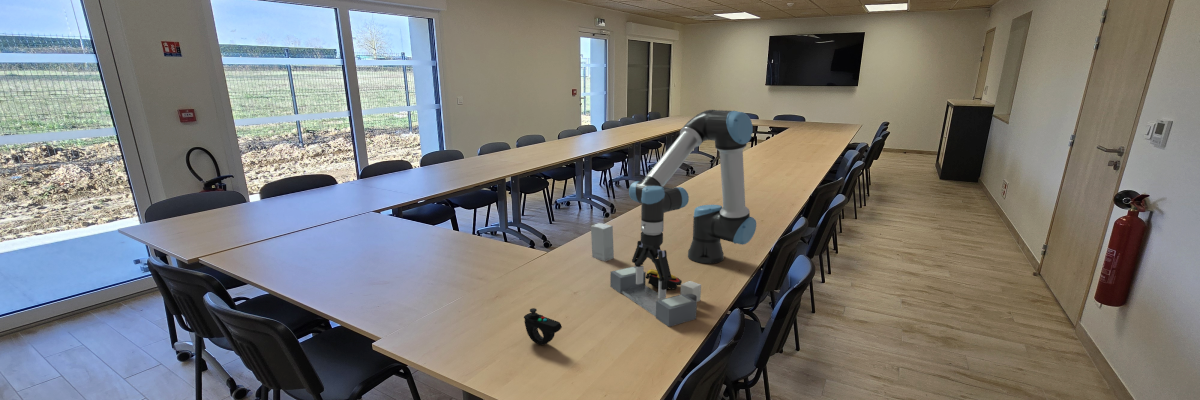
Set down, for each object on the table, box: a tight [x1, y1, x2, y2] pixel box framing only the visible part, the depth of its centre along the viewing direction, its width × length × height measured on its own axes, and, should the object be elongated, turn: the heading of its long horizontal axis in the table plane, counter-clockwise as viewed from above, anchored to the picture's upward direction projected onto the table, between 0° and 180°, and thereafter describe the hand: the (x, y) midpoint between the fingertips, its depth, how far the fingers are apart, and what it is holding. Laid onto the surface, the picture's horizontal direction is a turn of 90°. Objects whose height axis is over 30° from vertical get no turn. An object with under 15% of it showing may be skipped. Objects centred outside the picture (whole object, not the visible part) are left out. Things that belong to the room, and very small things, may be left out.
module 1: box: [609, 265, 647, 294], centre depth 188 cm, size 11×7×6 cm, turn 119°
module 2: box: [655, 293, 698, 328], centre depth 163 cm, size 11×7×6 cm, turn 119°
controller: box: [523, 307, 563, 346], centre depth 147 cm, size 4×12×10 cm, turn 57°
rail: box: [620, 284, 666, 318], centre depth 176 cm, size 10×32×1 cm, turn 29°
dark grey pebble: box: [686, 294, 698, 303], centre depth 169 cm, size 4×4×5 cm
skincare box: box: [590, 222, 615, 262], centre depth 217 cm, size 8×6×15 cm
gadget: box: [645, 268, 683, 290], centre depth 188 cm, size 6×13×6 cm, turn 79°
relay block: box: [679, 280, 702, 303], centre depth 177 cm, size 5×5×6 cm
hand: (650, 290), depth 175 cm, fingers open, 13 cm apart
